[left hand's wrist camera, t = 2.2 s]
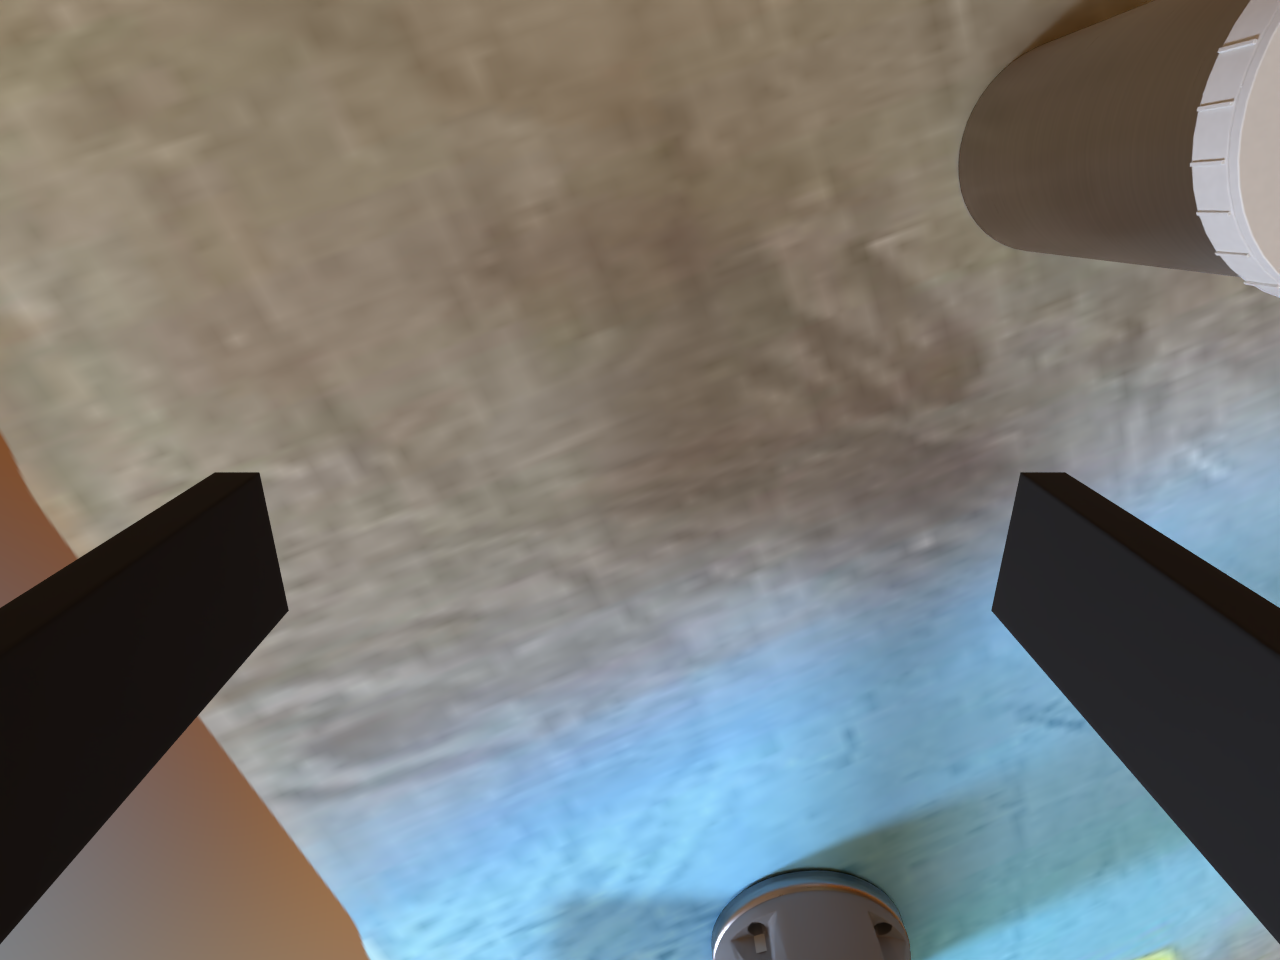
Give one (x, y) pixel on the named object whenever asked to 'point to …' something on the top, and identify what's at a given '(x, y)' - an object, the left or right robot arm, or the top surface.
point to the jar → (1100, 140)
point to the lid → (1243, 149)
